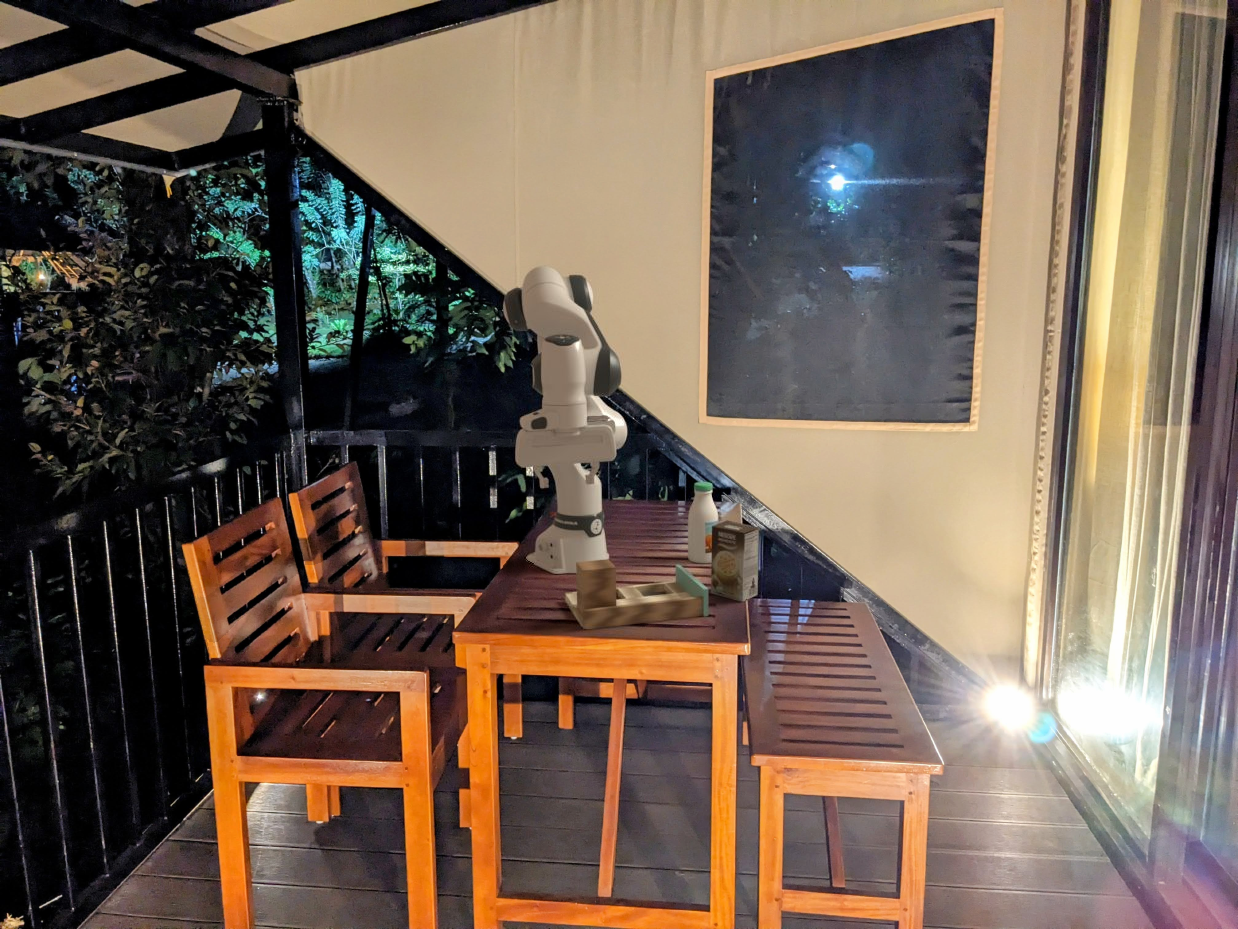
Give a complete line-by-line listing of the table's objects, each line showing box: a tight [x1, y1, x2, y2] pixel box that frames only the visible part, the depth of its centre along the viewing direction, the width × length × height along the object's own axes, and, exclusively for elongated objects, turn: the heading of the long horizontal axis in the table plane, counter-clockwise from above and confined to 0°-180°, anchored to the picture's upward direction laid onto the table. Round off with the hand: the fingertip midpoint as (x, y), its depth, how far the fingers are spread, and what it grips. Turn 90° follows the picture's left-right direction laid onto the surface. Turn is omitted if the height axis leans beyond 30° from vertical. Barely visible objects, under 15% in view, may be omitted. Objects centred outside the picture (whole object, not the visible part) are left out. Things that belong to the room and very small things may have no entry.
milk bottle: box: [687, 481, 719, 564], centre depth 229 cm, size 8×8×20 cm
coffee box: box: [710, 520, 760, 603], centre depth 204 cm, size 9×6×16 cm
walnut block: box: [575, 559, 617, 614], centre depth 190 cm, size 7×6×10 cm
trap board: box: [564, 580, 704, 630], centre depth 197 cm, size 26×18×4 cm
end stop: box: [675, 564, 709, 617], centre depth 200 cm, size 1×18×6 cm, turn 16°
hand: (567, 485), depth 182 cm, fingers open, 8 cm apart
